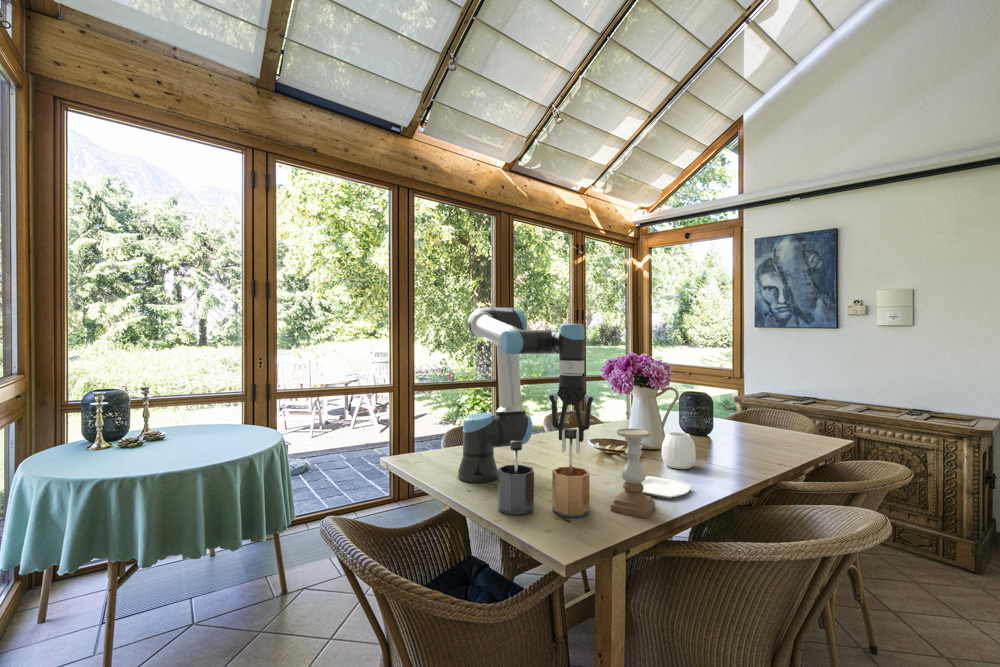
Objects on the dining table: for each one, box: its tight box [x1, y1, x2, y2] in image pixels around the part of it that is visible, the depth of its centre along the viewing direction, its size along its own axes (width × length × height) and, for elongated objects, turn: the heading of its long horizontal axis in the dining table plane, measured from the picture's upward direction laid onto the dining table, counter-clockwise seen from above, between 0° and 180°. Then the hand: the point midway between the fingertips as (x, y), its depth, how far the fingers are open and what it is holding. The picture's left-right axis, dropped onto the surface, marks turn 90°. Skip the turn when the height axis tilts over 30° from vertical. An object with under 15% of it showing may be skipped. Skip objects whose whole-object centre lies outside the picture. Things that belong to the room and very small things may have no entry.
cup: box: [661, 431, 697, 470], centre depth 190 cm, size 13×13×14 cm
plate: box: [641, 475, 692, 499], centre depth 161 cm, size 19×19×2 cm
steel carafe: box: [497, 464, 535, 517], centre depth 143 cm, size 11×14×12 cm
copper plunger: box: [564, 428, 578, 476], centre depth 140 cm, size 8×8×19 cm
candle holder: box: [610, 428, 656, 519], centre depth 143 cm, size 11×11×24 cm
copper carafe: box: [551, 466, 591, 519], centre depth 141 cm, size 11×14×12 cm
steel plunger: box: [509, 440, 523, 474], centre depth 142 cm, size 8×8×19 cm
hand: (570, 451), depth 140 cm, fingers closed on copper plunger, 4 cm apart
